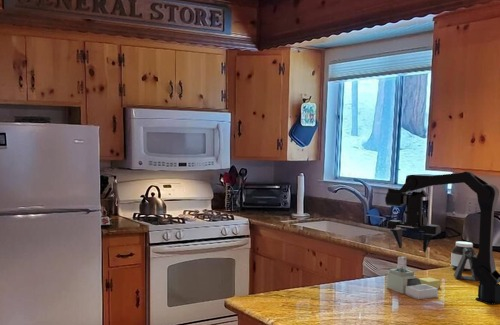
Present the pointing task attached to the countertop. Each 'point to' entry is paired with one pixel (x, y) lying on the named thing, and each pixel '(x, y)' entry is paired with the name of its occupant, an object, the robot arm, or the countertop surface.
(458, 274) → the phone stand
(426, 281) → the chock
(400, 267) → the pin
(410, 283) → the grey-green hollow stepped block
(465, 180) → the robot arm
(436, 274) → the countertop surface
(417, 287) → the tray
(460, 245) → the spread jar
